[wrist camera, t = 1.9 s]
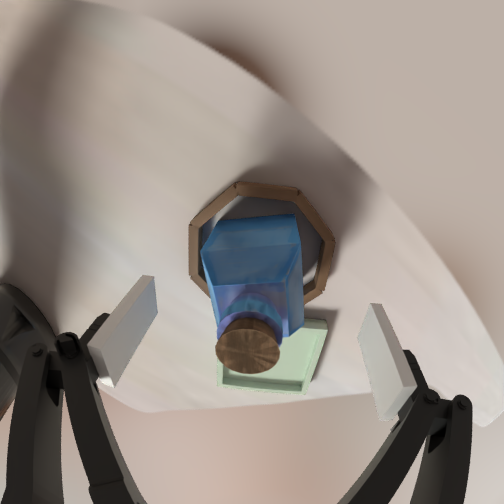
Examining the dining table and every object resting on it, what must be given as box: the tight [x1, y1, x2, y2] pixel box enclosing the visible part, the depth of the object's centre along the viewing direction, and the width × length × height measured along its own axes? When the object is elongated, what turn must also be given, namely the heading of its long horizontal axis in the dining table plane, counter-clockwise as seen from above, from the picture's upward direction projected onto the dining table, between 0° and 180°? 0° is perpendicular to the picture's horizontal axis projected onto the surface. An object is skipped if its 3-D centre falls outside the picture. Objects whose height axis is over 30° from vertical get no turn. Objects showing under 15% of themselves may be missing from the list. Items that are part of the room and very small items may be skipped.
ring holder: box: [189, 181, 336, 305], centre depth 23 cm, size 12×12×1 cm
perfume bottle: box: [200, 214, 304, 374], centre depth 19 cm, size 6×6×12 cm
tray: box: [217, 318, 328, 395], centre depth 28 cm, size 10×10×2 cm
